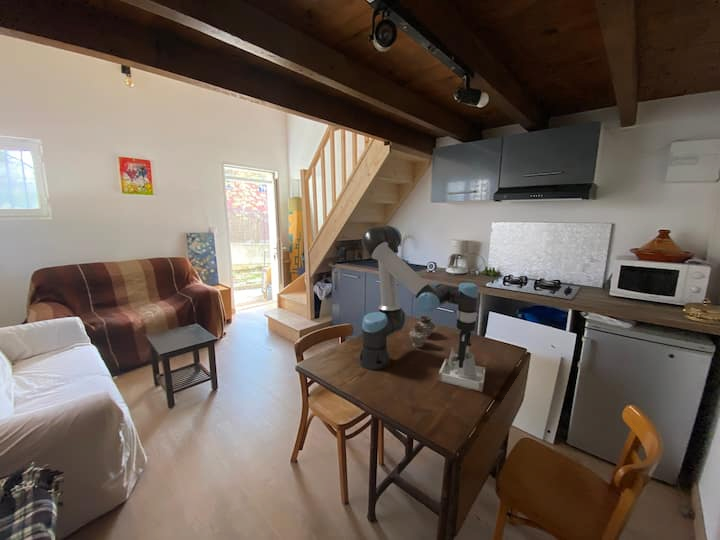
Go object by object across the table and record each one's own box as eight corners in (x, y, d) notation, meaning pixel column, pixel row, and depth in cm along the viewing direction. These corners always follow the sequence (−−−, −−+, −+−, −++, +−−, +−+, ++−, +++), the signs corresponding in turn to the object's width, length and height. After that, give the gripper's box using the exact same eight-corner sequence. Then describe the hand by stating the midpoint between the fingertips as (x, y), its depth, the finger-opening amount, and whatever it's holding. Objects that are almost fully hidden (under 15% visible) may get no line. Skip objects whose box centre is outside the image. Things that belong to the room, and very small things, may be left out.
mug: (472, 383, 122) (471, 356, 120) (445, 375, 129) (444, 350, 127) (479, 375, 127) (478, 349, 125) (452, 368, 135) (451, 343, 133)
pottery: (405, 346, 157) (406, 325, 155) (417, 329, 179) (418, 311, 177) (426, 351, 153) (427, 329, 150) (436, 333, 175) (437, 314, 172)
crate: (438, 380, 126) (438, 372, 125) (444, 365, 138) (445, 358, 137) (482, 391, 118) (482, 383, 118) (484, 375, 130) (485, 367, 129)
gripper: (472, 332, 110) (468, 383, 115) (479, 312, 132) (475, 355, 136) (451, 328, 114) (448, 378, 118) (461, 309, 135) (458, 352, 139)
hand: (462, 366), depth 127 cm, fingers open, 13 cm apart
